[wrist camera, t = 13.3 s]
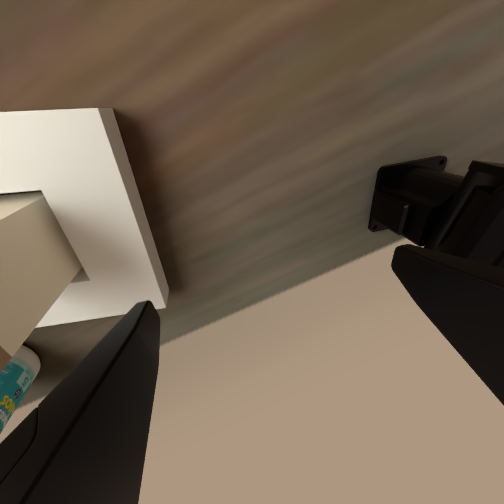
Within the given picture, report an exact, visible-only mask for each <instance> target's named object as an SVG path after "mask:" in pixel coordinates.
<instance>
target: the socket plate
mask: <svg viewBox="0 0 504 504" xmlns="http://www.w3.org/2000/svg"><path fill="white" fill-rule="evenodd" d="M35 190H41V191H42V193H43V195H44V196H45V198H46V200H47V202H48V204H49V206H50V207H51V209H52V211H53V213H54V215H55V217H56V218H57V220H58V222H59V224H60V226H61V228H62V229H63V231H64V233H65V235H66V237H67V239H68V240H69V242H70V244H71V246H72V248H73V250H74V251H75V253H76V255H77V257H78V259H79V261H80V262H81V264H82V268H81V269H80V270H79V272H78V273H77V274H76V276H75V277H74V278H73V279H72V281H71V282H70V283H69V285H68V286H67V287H66V288H65V290H64V291H63V292H62V294H61V295H60V296H59V297H58V299H57V300H56V301H55V303H54V304H53V305H52V306H51V308H50V309H49V310H48V312H47V313H46V314H45V315H44V317H43V318H42V319H41V321H40V322H39V323H38V324H37V326H36V327H35V328H37V327H44V326H50V325H57V324H63V323H70V322H76V321H83V320H89V319H96V318H102V317H109V316H115V315H122V314H127V312H128V311H129V310H130V309H131V308H132V307H133V306H134V305H135V304H136V303H138V302H142V301H146V300H150V301H151V302H152V303H153V305H154V307H155V309H161V308H166V305H167V300H168V295H169V287H168V284H167V281H166V278H165V275H164V272H163V268H162V265H161V262H160V259H159V256H158V252H157V249H156V246H155V243H154V240H153V236H152V233H151V230H150V227H149V224H148V220H147V217H146V214H145V211H144V208H143V204H142V201H141V198H140V195H139V192H138V188H137V185H136V182H135V179H134V176H133V173H132V169H131V166H130V163H129V160H128V157H127V153H126V150H125V147H124V144H123V141H122V137H121V134H120V131H119V128H118V125H117V121H116V118H115V115H114V112H113V109H112V108H86V109H63V110H40V111H17V112H0V193H12V192H24V191H35Z"/></svg>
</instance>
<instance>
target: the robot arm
mask: <svg viewBox="0 0 504 504" xmlns="http://www.w3.org/2000/svg"><path fill="white" fill-rule="evenodd" d="M439 162H440V163H439ZM446 162H447V157H445V156H435V157H430V158H424V159H419V160H413V161H408V162H402V163H397V164H391V165H386V166H382V167H381V168H380V169H379V170H378V173H377V179H376V184H375V190H374V195H373V200H372V206H371V212H370V219H369V225H368V229H369V230H371V231H372V232H375V231H380V230H384V229H390V230H391V231H393V232H394V233H396V234H398V235H402V236H404V237H405V238H407V239H408V240H410V241H412V242H413V243H415V244H416V245H418V246H420V247H418V246H414V245H411V244H406V245H401V246H398V247H396V249H395V251H394V255H393V259H392V263H391V267H392V270H393V272H394V273H395V274H396V276H397V277H398V279H399V280H400V281H401V283H402V284H403V286H404V287H405V289H406V290H407V291H408V293H409V294H410V296H411V297H412V298H413V300H414V301H415V302H416V304H417V305H418V306H419V307H420V309H421V310H422V311H423V312H424V313H425V314H426V316H427V317H428V318H429V319H430V320H431V322H432V323H433V324H434V325H435V326H436V327H437V328H438V330H439V331H440V332H441V333H442V334H443V335H444V337H445V338H446V339H447V340H448V341H449V342H450V344H451V345H452V346H453V347H454V348H455V349H456V351H457V352H458V353H459V354H460V355H461V356H462V357H463V359H464V360H465V361H466V362H467V363H468V364H469V366H470V367H471V368H472V369H473V370H474V371H475V373H476V374H477V375H478V376H479V377H480V378H481V380H482V381H483V382H484V383H485V384H486V385H487V387H489V389H490V390H491V391H492V392H493V394H494V395H495V396H496V397H497V398H498V399H499V401H500V402H501V403H502V404H503V405H504V164H499V163H490V162H482V161H472V162H471V164H470V166H469V168H468V169H469V171H468V172H467V174H466V176H465V177H463V176H459V175H455V174H451V173H447V172H443V171H444V168H445V165H446ZM384 171H385V173H384V174H383V172H384ZM373 226H374V227H373ZM421 246H424V248H422V247H421ZM159 347H160V317H159V315H158V313H157V311H156V309H155V307H154V305H153V303H152V302H151V301H150V300H146V301H142V302H138V303H136V304H135V305H134V306H133V307H132V308H131V309H130V310H129V311H128V312H127V314H126V315H125V316H124V317H123V318H122V319H121V320H120V321H119V322H118V323H117V324H116V325H115V326H114V327H113V328H112V329H111V330H110V331H109V332H108V333H107V334H106V335H105V336H104V337H103V338H102V339H101V340H100V341H99V343H98V344H97V345H96V346H95V347H94V348H93V349H92V350H91V351H90V352H89V353H88V354H87V355H86V356H85V357H84V358H83V359H82V360H81V361H80V362H79V363H78V364H77V365H76V366H75V367H74V368H73V369H72V370H71V372H70V373H69V374H68V375H67V376H66V377H65V378H64V379H63V380H62V381H61V382H60V383H59V384H58V385H57V386H56V387H55V388H54V389H53V390H52V391H51V392H50V393H49V394H48V395H47V396H46V397H45V398H44V400H42V402H41V403H40V404H39V405H38V407H37V408H35V409H34V410H33V411H32V412H31V413H30V414H29V415H28V416H27V417H26V418H25V419H24V420H23V421H22V422H21V423H20V424H19V425H18V426H17V427H16V428H15V429H14V430H13V431H12V432H11V433H10V434H9V435H8V436H7V437H6V438H5V439H4V440H3V441H2V442H1V443H0V504H138V501H139V494H140V487H141V481H142V474H143V467H144V461H145V453H146V447H147V441H148V433H149V427H150V421H151V413H152V407H153V401H154V394H155V388H156V381H157V374H158V366H159Z"/></svg>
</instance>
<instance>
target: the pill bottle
mask: <svg viewBox="0 0 504 504" xmlns="http://www.w3.org/2000/svg"><path fill="white" fill-rule="evenodd" d="M39 370H40V360H39V358H38V356H37V355H36V354H35V353H34V352H33V351H32V350H31V349H29V348H27V347H26V346H24V345H21V346H20V348H19V349H18V350H17V352H16V353H15V354H14V355H13V357H12V358H11V359H10V361H9V362H8V363H7V364H6V366H5V367H4V368H3V370H2V371H1V372H0V433H1V432H2V430H3V428H4V427H5V425H6V424H7V422H8V420H9V419H10V417H11V416H12V414H13V413H14V411H15V410H16V408H17V406H18V405H19V403H20V402H21V400H22V398H23V397H24V395H25V394H26V392H27V390H28V389H29V387H30V386H31V384H32V382H33V381H34V379H35V377H36V376H37V374H38V372H39Z"/></svg>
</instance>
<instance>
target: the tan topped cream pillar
mask: <svg viewBox="0 0 504 504" xmlns="http://www.w3.org/2000/svg"><path fill="white" fill-rule="evenodd" d="M81 268H82V264H81V262H80V261H79V259H78V257H77V255H76V253H75V251H74V250H73V248H72V246H71V244H70V242H69V240H68V239H67V237H66V235H65V233H64V231H63V229H62V228H61V226H60V224H59V222H58V220H57V218H56V217H55V215H54V213H53V211H52V209H51V207H50V206H49V204H48V202H47V200H46V198H45V196H44V195H43V193H42V192H31V193H20V194H10V195H0V372H1V371H2V370H3V368H4V367H5V366H6V364H7V363H8V362H9V361H10V359H11V358H12V357H13V355H14V354H15V353H16V352H17V350H18V349H19V348H20V346H21V345H22V344H23V343H24V341H25V340H26V339H27V337H28V336H29V335H30V334H31V332H32V331H33V330H34V328H35V327H36V326H37V324H38V323H39V322H40V321H41V319H42V318H43V317H44V315H45V314H46V313H47V312H48V310H49V309H50V308H51V306H52V305H53V304H54V303H55V301H56V300H57V299H58V297H59V296H60V295H61V294H62V292H63V291H64V290H65V288H66V287H67V286H68V285H69V283H70V282H71V281H72V279H73V278H74V277H75V276H76V274H77V273H78V272H79V270H80V269H81Z"/></svg>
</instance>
